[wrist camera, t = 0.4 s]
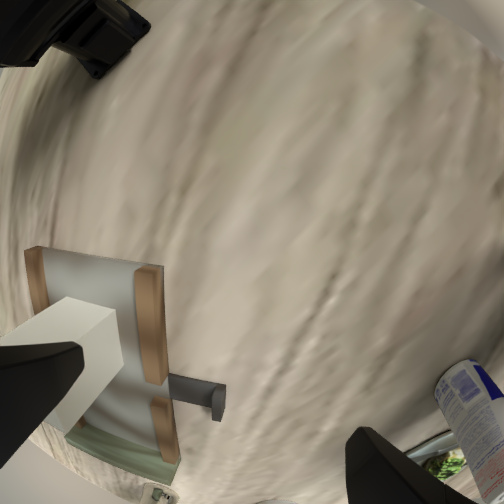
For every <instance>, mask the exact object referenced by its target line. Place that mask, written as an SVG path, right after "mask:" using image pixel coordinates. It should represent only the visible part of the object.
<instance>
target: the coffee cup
mask: <svg viewBox="0 0 504 504" xmlns="http://www.w3.org/2000/svg"><path fill="white" fill-rule="evenodd" d="M257 504H297V503H295V502H292V501H287V500H267V501H262V502H259V503H257Z"/></svg>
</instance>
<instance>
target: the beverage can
mask: <svg viewBox="0 0 504 504" xmlns="http://www.w3.org/2000/svg"><path fill="white" fill-rule="evenodd" d="M434 396H435V400H436V401H437V403H438V405H439V407H440V408H441V410H442V412H443V414H444V416H445V418H446V420H447V422H448V424H449V426H450V428H451V430H452V432H453V434H454V436H455V438H456V440H457V442H458V444H459V446H460V448H461V450H462V452H463V455H464V457H465V459H466V461H467V463H468V466H469V468H470V470H471V473H472V475H473V477H474V480H475V482H476V485H477V487H478V490H479V492H480V495H481V497H482V500H483V501H484V502H485V503H486V504H499V503H500V502H502V501H503V500H504V394H503V393H502V392H501V391H500V389H499V388H498V387H497V385H496V384H495V383H494V382H493V380H492V379H491V378H490V377H489V375H488V374H487V373H486V372H485V371H484V369H483V368H482V367H481V366H480V365H479V363H478V362H477V361H476V360H473V359H468V360H464V361H461V362H459V363H457V364H455V365H454V366H452V367H451V368H450V369H449V370H448V371H447V372H446V373H445V374H444V375H443V376H442V378H441V379H440V381H439V382H438V384H437V386H436V389H435V393H434Z"/></svg>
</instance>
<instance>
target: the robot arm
mask: <svg viewBox="0 0 504 504" xmlns="http://www.w3.org/2000/svg"><path fill="white" fill-rule="evenodd" d="M144 26H146V27H144ZM143 27H144V28H143ZM150 28H151V24H150V23H149V22H148V21H147V20H146V19H144V18H143V17H142V16H141V15H139V14H138V13H137V12H136V11H134V10H133V9H132V8H130V7H129V6H128V5H126V4H125V3H124V2H122V1H121V0H117V1H116V0H0V68H5V67H35V66H36V64H37V63H38V62H39V59H40V58H41V57H42V56H43V55H44V53H45V52H46V51H47V50H48V49H49V48H50V46H52V47H54V48H57V49H59V50H61V51H64V52H66V53H68V54H71V55H73V56H75V57H76V58H77V59H78V60H79V61H80V63H81V64H82V65H83V66H84V68H85V69H86V70H87V71H88V73H89V74H90V75H91V76H92V78H94V79H100V78H101V77H102V76H103V75H104V74H105V72H106V71H107V70H108V69H109V68H110V67H111V66H112V65H113V64H114V63H115V62H116V61H117V60H118V59H119V58H120V57H121V56H122V55H123V54H124V53H125V52H126V51H127V50H128V49H129V48H130V47H131V46H132V45H133V44H134V43H135V42H136V41H137V40H138V39H139V38H140V37H142V36H143V35H144V34H145V33H146V32H147V31H148V30H149V29H150ZM97 73H98V75H97ZM84 367H85V361H84V353H83V348H82V346H81V345H79V344H77V343H76V342H74V341H67V342H56V343H43V344H29V345H12V346H0V469H1V468H2V467H3V466H4V464H5V463H6V462H7V461H8V460H9V459H10V458H11V456H12V455H13V454H14V453H15V452H16V451H17V450H18V448H19V447H20V446H21V445H22V444H23V443H24V441H25V440H26V439H27V438H28V437H29V436H30V435H31V434H32V433H33V431H34V430H35V429H36V428H37V427H38V426H39V425H40V424H41V422H42V421H43V420H44V419H45V418H46V417H47V416H48V415H49V414H50V413H51V411H52V410H53V409H54V408H55V407H56V406H57V405H58V404H59V403H60V402H61V400H62V399H63V398H64V397H65V396H66V394H67V393H68V391H69V390H70V389H71V387H72V386H73V384H74V383H75V382H76V380H77V379H78V377H79V376H80V375H81V373H82V372H83V370H84ZM345 464H346V488H347V495H348V503H349V504H478V503H476V502H474V501H472V500H470V499H469V498H467V497H465V496H463V495H462V494H460V493H459V492H457V491H455V490H454V489H452V488H451V487H450V486H448V485H447V484H445V485H444V483H443V482H442V481H440V480H439V479H438V478H436V477H435V476H433V475H432V474H431V473H429V472H428V471H426V470H425V469H424V468H422V467H421V466H420V465H418V464H417V463H416V462H414V461H413V460H412V459H410V458H409V457H408V456H406V455H405V454H404V453H402V452H401V451H400V450H399V449H397V448H396V447H395V446H393V445H392V444H391V443H390V442H388V441H387V440H386V439H385V438H383V437H382V436H381V435H380V434H378V433H377V432H376V431H375V430H373V429H372V428H370V427H362V426H361V427H358V428H357V429H356V430H355V432H354V433H353V434H352V436H351V437H350V438H349V439H348V441H347V443H346V446H345Z"/></svg>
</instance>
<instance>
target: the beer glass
mask: <svg viewBox="0 0 504 504" xmlns="http://www.w3.org/2000/svg"><path fill="white" fill-rule="evenodd" d="M179 499H180V497H179V495H178V494H177V493H175V492H174V491H172V490H170V489H168V488H166V487H164V486H161V485H158V484H154V483H147V484H145V486H144V490H143V494H142V498H141V500H140V502H139V504H177V503H178V501H179Z"/></svg>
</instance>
